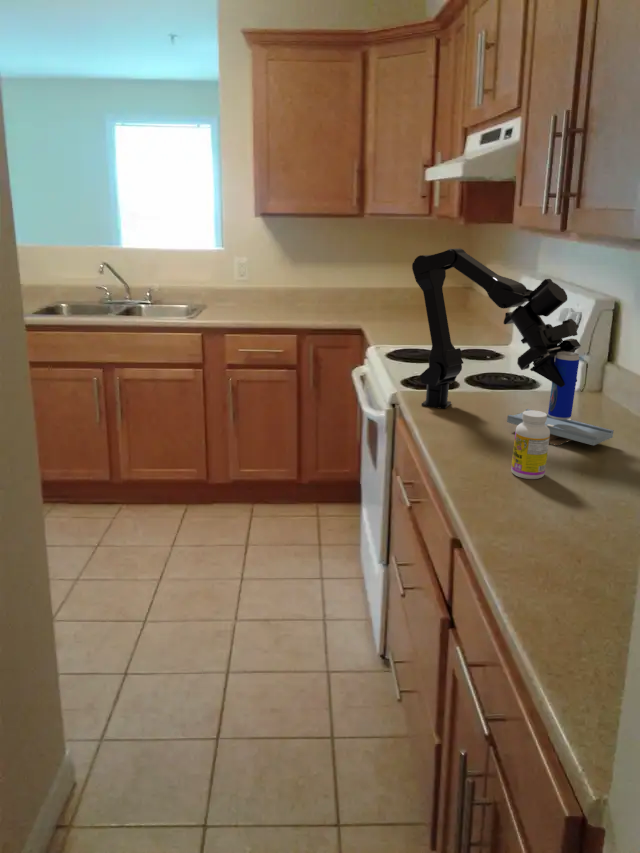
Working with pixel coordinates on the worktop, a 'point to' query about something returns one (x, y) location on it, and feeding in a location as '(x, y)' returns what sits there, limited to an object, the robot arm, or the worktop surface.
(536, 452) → the supplement bottle
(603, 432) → the beam
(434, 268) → the robot arm
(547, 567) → the worktop surface
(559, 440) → the fulcrum
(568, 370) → the beverage can
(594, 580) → the worktop surface
